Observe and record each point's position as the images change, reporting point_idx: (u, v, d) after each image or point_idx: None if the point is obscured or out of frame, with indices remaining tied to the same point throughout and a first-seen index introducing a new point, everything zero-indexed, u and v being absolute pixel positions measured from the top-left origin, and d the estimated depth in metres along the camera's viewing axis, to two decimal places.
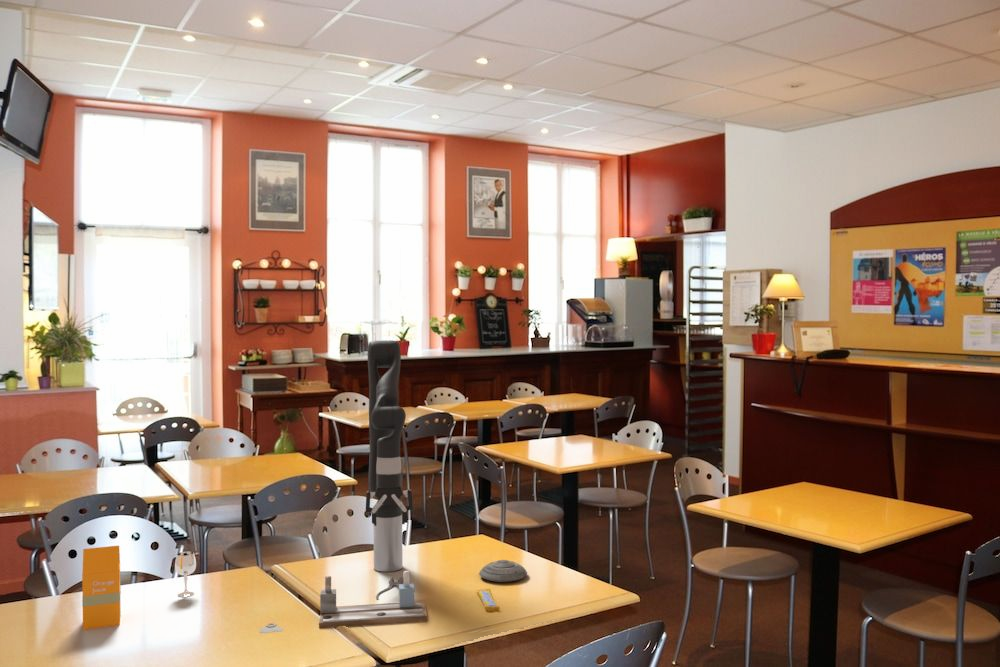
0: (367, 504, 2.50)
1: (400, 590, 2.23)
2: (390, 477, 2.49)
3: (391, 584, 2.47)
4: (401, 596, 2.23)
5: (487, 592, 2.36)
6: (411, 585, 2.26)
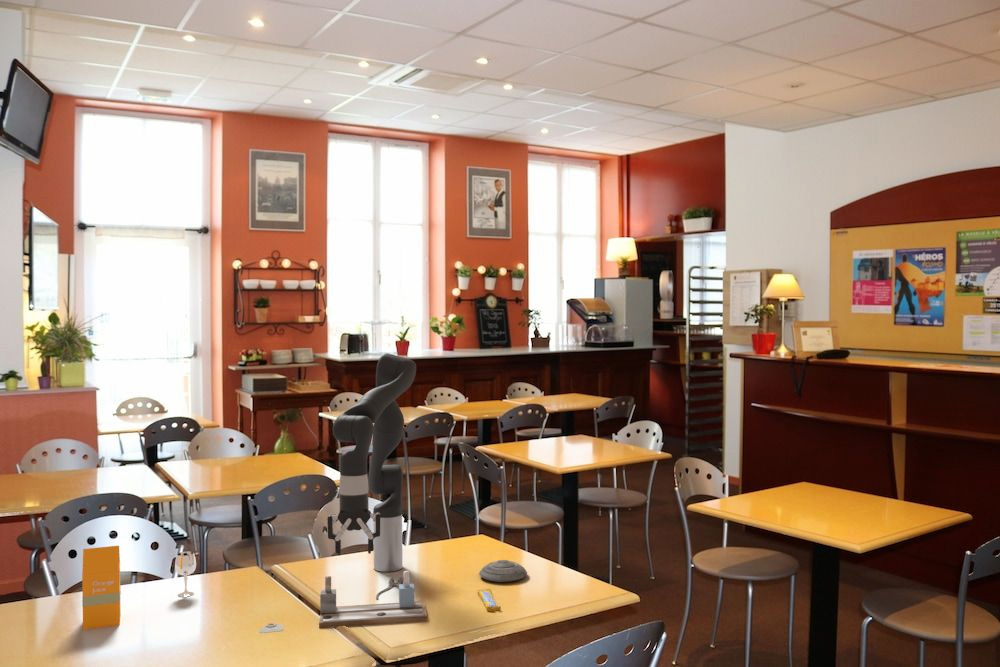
0: (329, 530, 2.15)
1: (400, 590, 2.23)
2: (354, 499, 2.13)
3: (391, 584, 2.47)
4: (401, 596, 2.23)
5: (488, 592, 2.36)
6: (411, 585, 2.26)
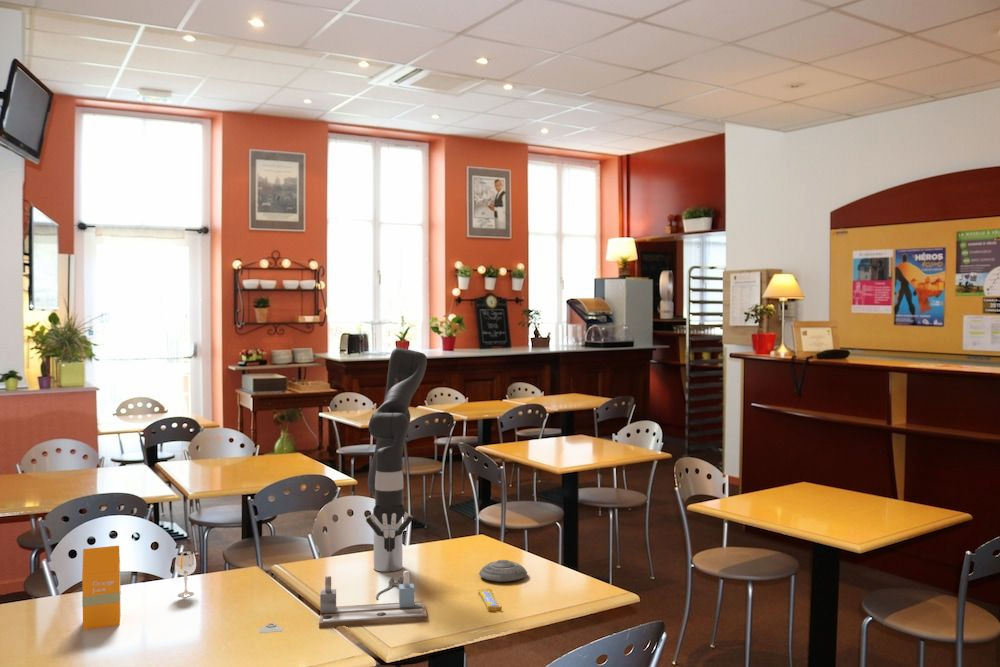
0: (375, 529, 2.20)
1: (400, 590, 2.23)
2: (390, 494, 2.17)
3: (391, 584, 2.47)
4: (401, 596, 2.23)
5: (488, 592, 2.36)
6: (411, 585, 2.26)
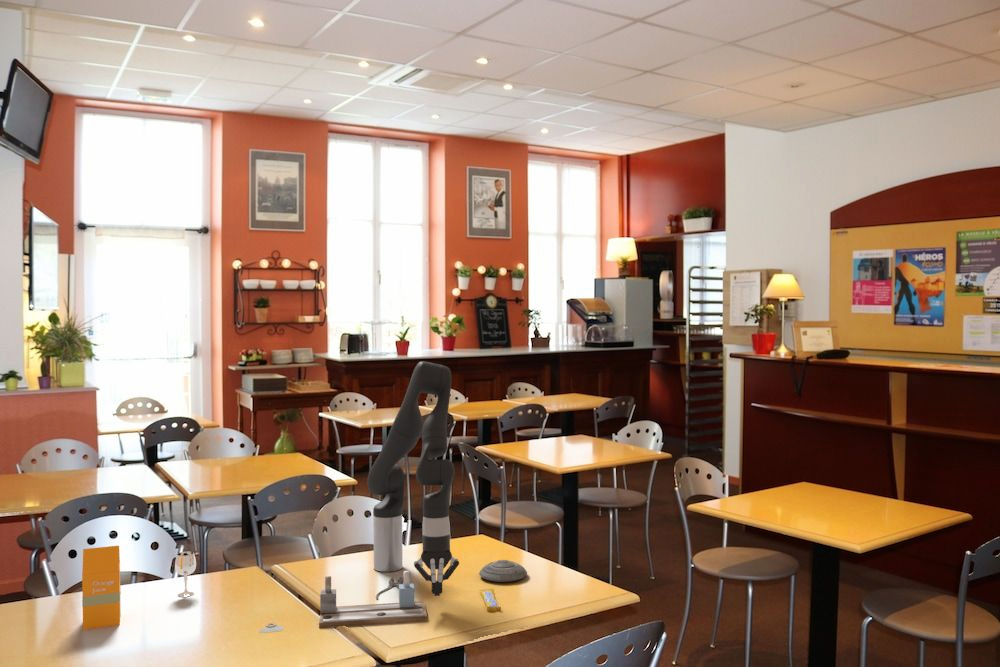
0: (423, 574, 2.24)
1: (400, 590, 2.23)
2: (438, 540, 2.23)
3: (391, 584, 2.47)
4: (401, 596, 2.23)
5: (490, 592, 2.36)
6: (411, 585, 2.26)
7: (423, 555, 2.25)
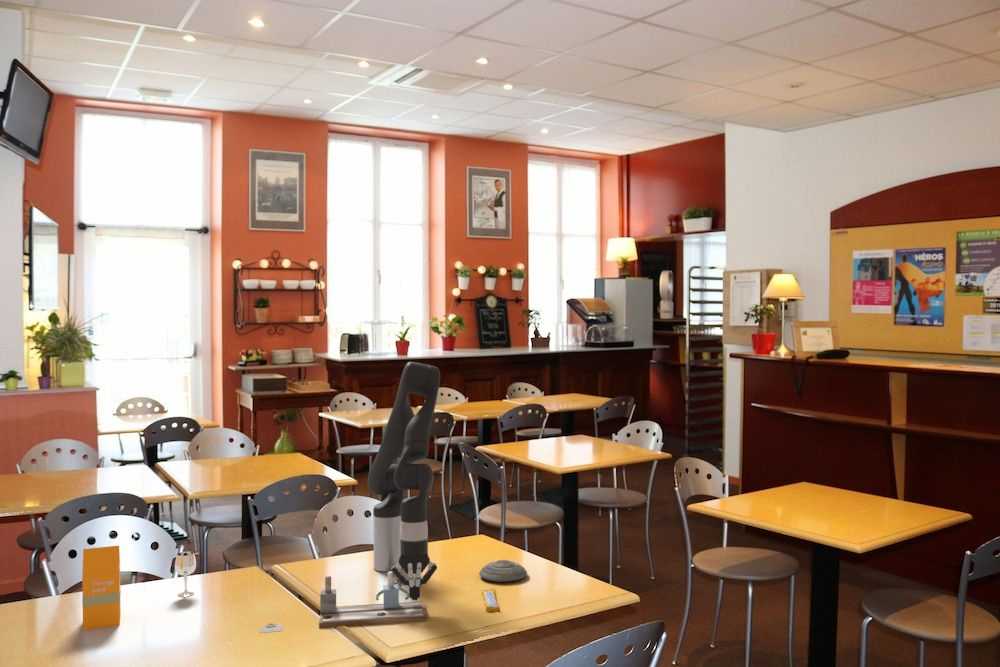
0: (401, 579, 2.24)
1: (384, 591, 2.22)
2: (416, 544, 2.22)
3: None
4: (385, 597, 2.22)
5: (491, 592, 2.36)
6: (395, 586, 2.25)
7: (401, 559, 2.24)
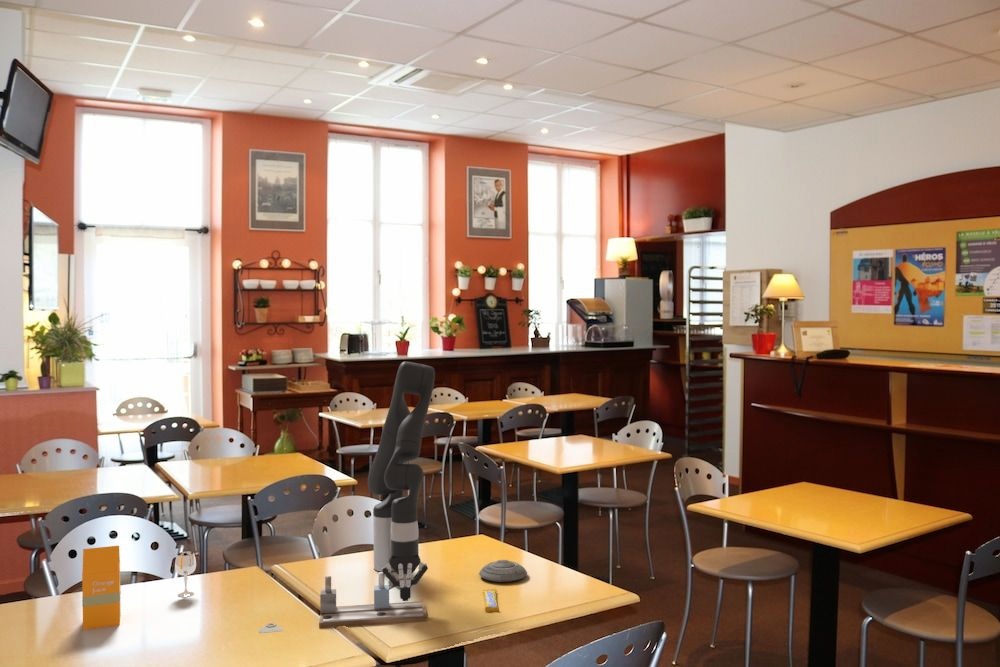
0: (391, 579, 2.23)
1: (375, 591, 2.22)
2: (406, 545, 2.21)
3: (391, 584, 2.47)
4: (376, 597, 2.22)
5: (492, 592, 2.36)
6: (386, 586, 2.25)
7: (391, 560, 2.23)
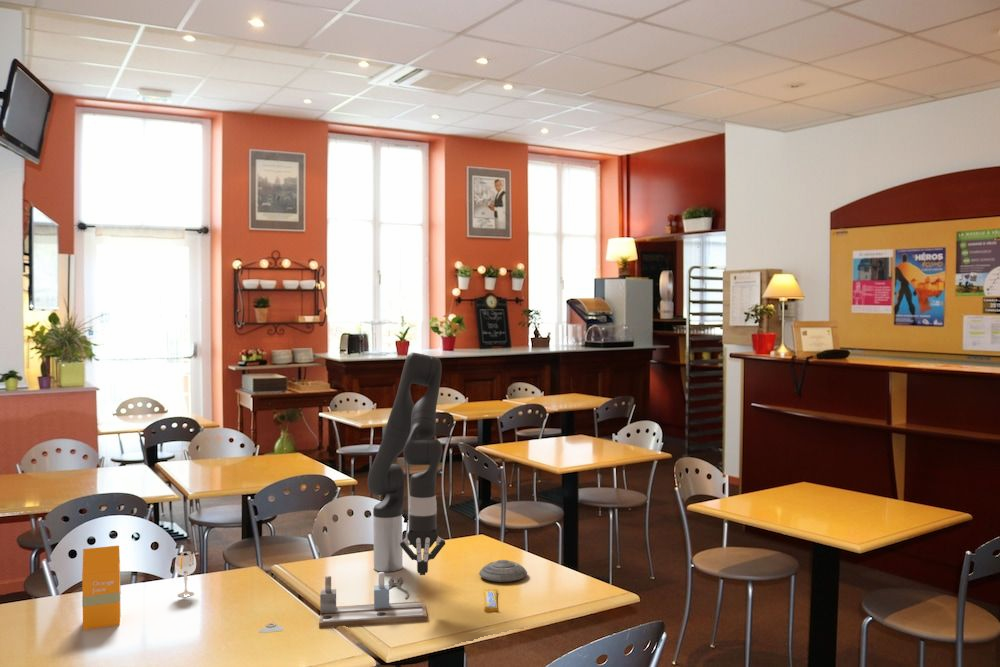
0: (409, 553, 2.24)
1: (375, 591, 2.22)
2: (424, 519, 2.22)
3: (391, 584, 2.47)
4: (376, 597, 2.22)
5: (493, 592, 2.36)
6: (386, 586, 2.25)
7: (409, 534, 2.24)
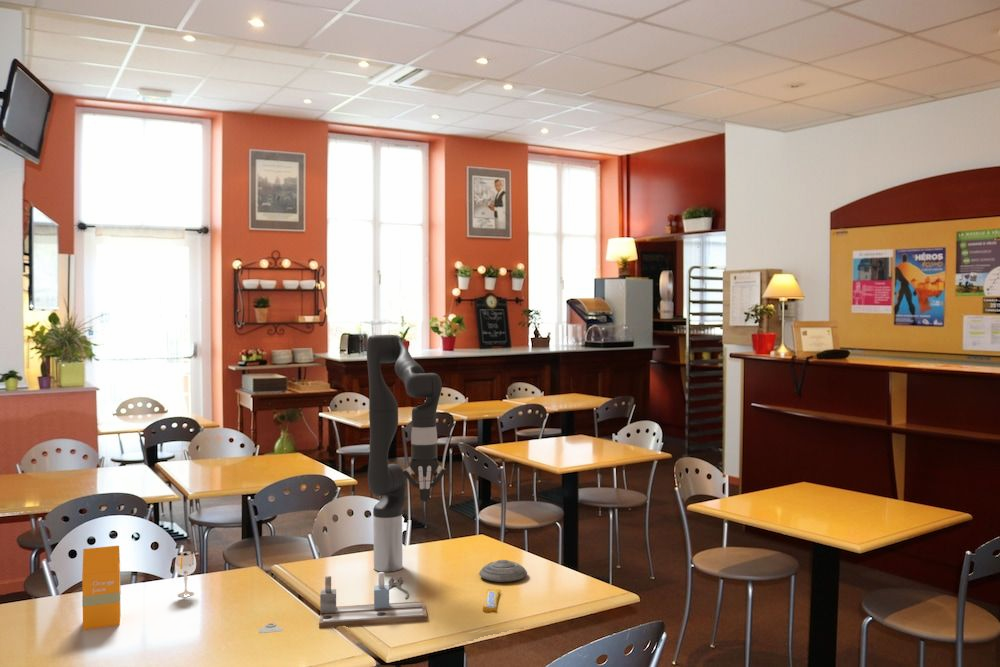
0: (411, 481, 2.37)
1: (375, 591, 2.22)
2: (426, 448, 2.35)
3: (391, 584, 2.47)
4: (376, 597, 2.22)
5: (494, 593, 2.36)
6: (386, 586, 2.25)
7: (411, 463, 2.38)
